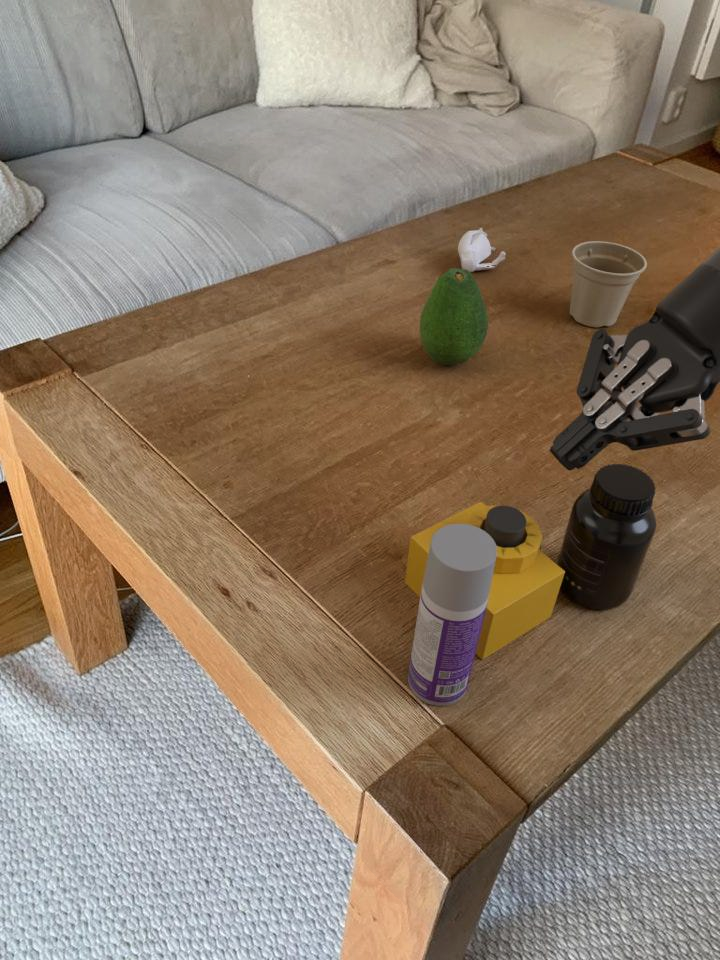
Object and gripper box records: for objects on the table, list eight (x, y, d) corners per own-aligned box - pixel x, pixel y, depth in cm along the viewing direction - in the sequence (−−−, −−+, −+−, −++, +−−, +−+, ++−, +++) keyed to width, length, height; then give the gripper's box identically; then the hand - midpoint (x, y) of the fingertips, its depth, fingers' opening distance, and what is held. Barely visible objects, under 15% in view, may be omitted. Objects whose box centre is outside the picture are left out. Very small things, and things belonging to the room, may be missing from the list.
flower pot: (623, 303, 113) (640, 244, 107) (634, 338, 106) (653, 277, 100) (555, 296, 113) (568, 237, 108) (561, 331, 106) (576, 270, 100)
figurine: (519, 244, 121) (500, 277, 113) (481, 259, 125) (460, 291, 116) (503, 207, 119) (483, 237, 110) (465, 223, 122) (442, 254, 114)
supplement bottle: (584, 544, 76) (617, 444, 69) (645, 588, 73) (688, 487, 65) (536, 578, 73) (565, 476, 65) (598, 625, 69) (637, 523, 61)
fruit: (494, 361, 100) (511, 270, 92) (457, 388, 95) (472, 294, 87) (440, 337, 103) (452, 247, 96) (402, 361, 99) (412, 269, 91)
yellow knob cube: (555, 614, 70) (575, 553, 65) (482, 660, 66) (497, 598, 61) (476, 544, 76) (488, 483, 71) (404, 582, 72) (412, 520, 67)
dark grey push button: (530, 538, 66) (535, 522, 65) (502, 553, 65) (506, 538, 64) (503, 515, 68) (507, 500, 67) (475, 530, 67) (478, 514, 66)
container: (472, 664, 65) (503, 530, 56) (461, 713, 62) (493, 579, 52) (415, 650, 66) (436, 515, 56) (401, 697, 63) (422, 562, 53)
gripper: (664, 229, 61) (493, 391, 65) (793, 314, 52) (585, 497, 56) (698, 284, 66) (538, 432, 70) (821, 371, 57) (628, 535, 61)
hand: (559, 461), depth 63 cm, fingers closed
